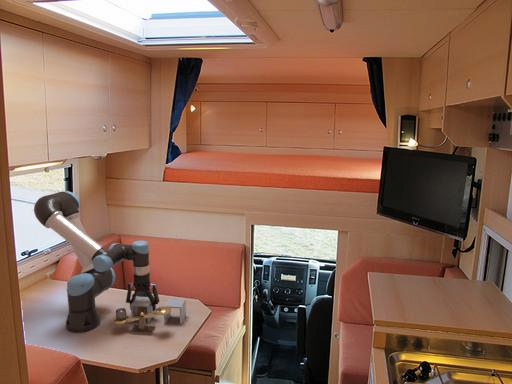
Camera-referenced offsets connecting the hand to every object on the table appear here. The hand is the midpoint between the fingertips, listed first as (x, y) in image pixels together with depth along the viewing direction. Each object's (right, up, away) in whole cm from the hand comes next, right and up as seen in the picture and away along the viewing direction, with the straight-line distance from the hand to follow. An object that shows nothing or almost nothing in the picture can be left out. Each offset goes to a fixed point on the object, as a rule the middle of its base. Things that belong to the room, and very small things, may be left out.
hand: (143, 316), depth 199 cm
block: (0, -1, 0) cm, 1 cm away
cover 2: (+16, -1, -1) cm, 16 cm away
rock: (-6, +2, +17) cm, 18 cm away
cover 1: (0, -1, 0) cm, 1 cm away
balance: (+3, -3, -12) cm, 13 cm away
